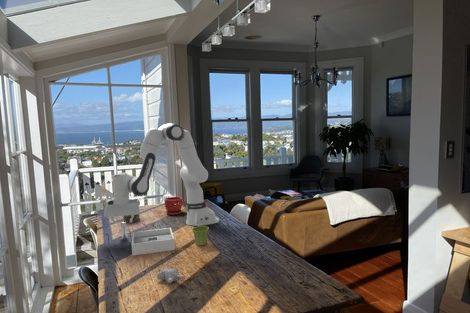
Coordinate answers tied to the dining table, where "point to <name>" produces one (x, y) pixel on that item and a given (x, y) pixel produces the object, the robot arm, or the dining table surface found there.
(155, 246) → the box
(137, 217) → the jar
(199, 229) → the plant pot
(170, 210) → the plant pot
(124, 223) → the peg
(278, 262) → the dining table surface
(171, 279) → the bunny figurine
